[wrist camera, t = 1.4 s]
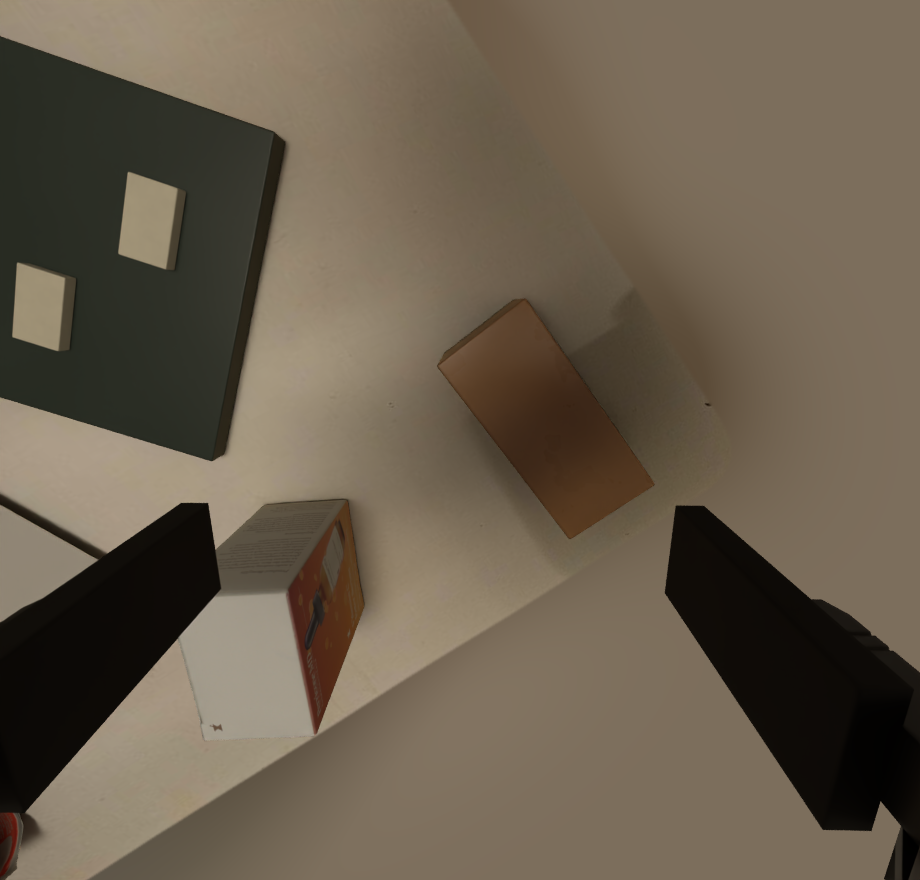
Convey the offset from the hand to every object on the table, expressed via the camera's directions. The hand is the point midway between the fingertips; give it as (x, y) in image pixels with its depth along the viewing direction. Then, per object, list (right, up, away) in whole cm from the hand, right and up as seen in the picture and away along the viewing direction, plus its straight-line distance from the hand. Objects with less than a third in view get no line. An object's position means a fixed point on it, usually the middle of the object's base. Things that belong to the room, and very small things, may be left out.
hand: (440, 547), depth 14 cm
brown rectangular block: (+5, +5, +15) cm, 17 cm away
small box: (-9, -4, +18) cm, 21 cm away
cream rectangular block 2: (-15, +14, +11) cm, 24 cm away
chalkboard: (-23, +14, +13) cm, 30 cm away
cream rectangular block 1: (-22, +10, +13) cm, 27 cm away
